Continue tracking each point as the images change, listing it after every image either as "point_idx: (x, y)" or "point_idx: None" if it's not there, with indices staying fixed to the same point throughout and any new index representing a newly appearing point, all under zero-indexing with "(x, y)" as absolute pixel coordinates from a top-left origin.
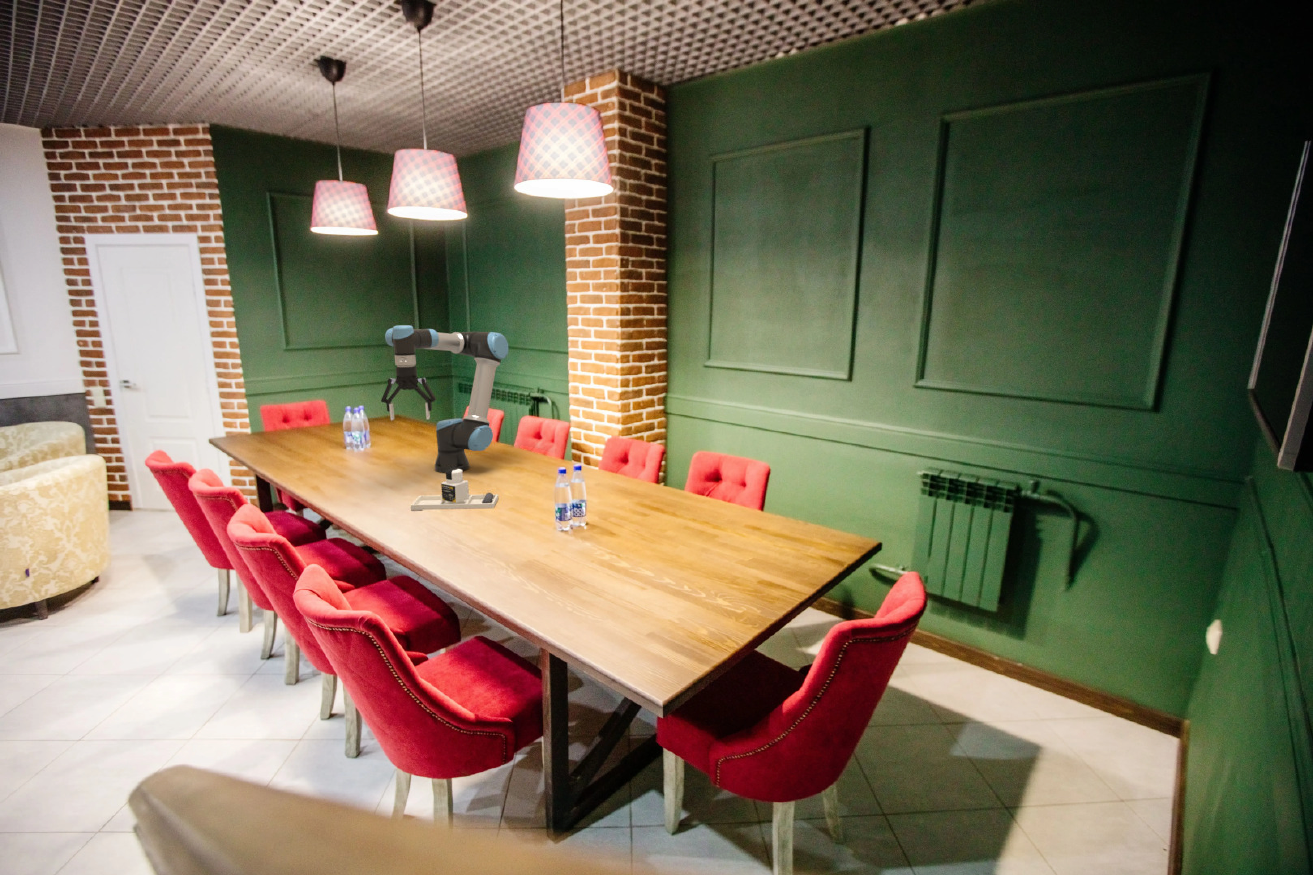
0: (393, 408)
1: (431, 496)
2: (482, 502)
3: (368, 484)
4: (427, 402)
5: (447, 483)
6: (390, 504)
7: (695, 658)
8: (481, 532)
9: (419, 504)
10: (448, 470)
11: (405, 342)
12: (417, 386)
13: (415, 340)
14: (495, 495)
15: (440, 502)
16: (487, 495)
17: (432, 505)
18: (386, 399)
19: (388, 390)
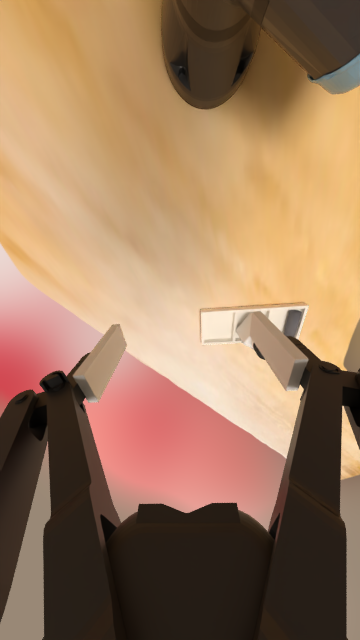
0: (100, 352)
1: (217, 313)
2: (285, 335)
3: (84, 225)
4: (303, 393)
5: (252, 348)
6: (168, 321)
7: (351, 474)
8: (277, 386)
9: (211, 342)
10: (262, 355)
11: None
12: (326, 557)
13: None
14: (304, 308)
15: (234, 336)
16: (295, 324)
17: (226, 343)
18: (44, 411)
19: (25, 519)
